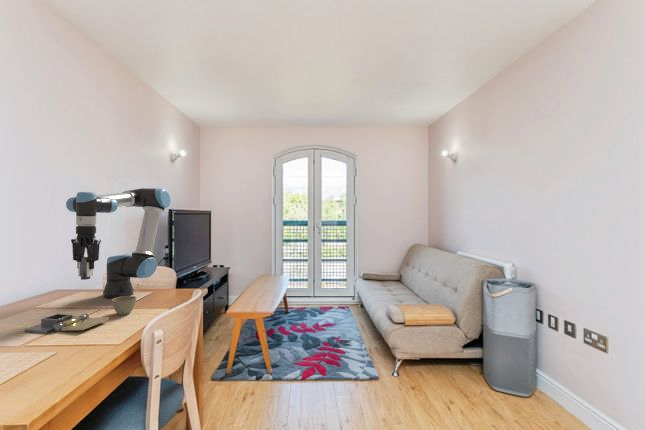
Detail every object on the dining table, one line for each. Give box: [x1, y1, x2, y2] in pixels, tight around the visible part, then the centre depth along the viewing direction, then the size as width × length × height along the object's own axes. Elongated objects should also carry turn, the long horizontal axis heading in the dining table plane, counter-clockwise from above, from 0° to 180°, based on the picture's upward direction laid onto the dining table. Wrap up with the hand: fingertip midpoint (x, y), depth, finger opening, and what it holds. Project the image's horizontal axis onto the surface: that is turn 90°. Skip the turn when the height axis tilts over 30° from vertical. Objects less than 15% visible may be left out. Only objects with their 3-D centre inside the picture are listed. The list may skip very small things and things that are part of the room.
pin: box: [80, 256, 91, 281], centre depth 149 cm, size 4×4×10 cm
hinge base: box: [24, 313, 90, 334], centre depth 136 cm, size 18×13×4 cm
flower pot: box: [111, 295, 137, 316], centre depth 153 cm, size 10×10×7 cm
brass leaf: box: [60, 315, 110, 332], centre depth 135 cm, size 13×13×3 cm
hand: (85, 275), depth 149 cm, fingers closed on pin, 3 cm apart
